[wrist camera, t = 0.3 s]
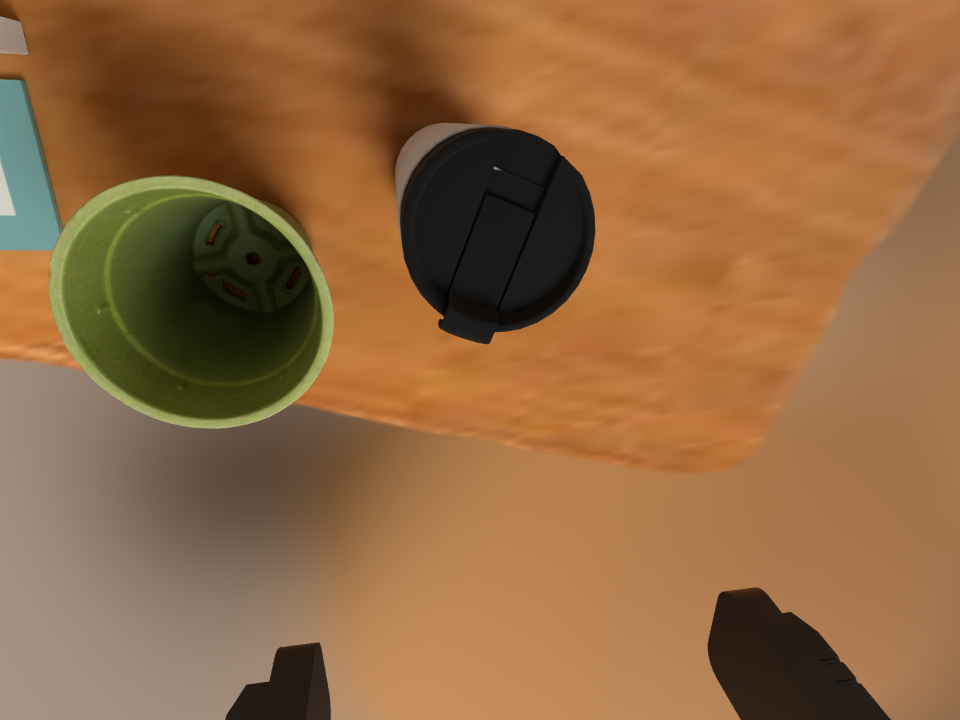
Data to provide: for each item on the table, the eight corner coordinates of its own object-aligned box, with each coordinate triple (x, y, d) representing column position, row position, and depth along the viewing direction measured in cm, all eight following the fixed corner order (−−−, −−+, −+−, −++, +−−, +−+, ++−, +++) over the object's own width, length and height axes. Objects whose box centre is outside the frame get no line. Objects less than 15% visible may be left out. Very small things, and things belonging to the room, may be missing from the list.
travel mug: (379, 211, 35) (367, 311, 17) (414, 105, 33) (444, 87, 15) (470, 246, 37) (549, 370, 19) (509, 147, 35) (642, 177, 16)
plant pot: (141, 145, 32) (22, 157, 21) (354, 172, 34) (338, 194, 24) (158, 338, 36) (67, 424, 26) (345, 351, 38) (329, 435, 28)
